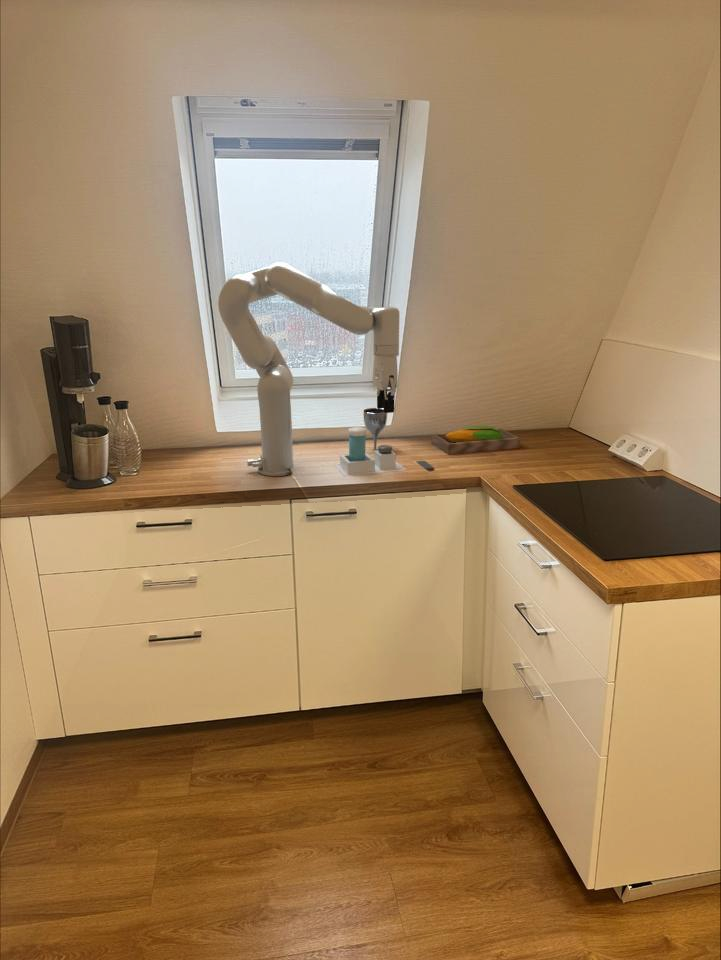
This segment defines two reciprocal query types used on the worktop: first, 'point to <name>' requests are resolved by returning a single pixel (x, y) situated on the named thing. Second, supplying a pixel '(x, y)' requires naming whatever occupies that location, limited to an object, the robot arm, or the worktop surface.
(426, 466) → the mat
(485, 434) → the corn
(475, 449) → the brown rectangular tray
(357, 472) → the housing
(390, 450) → the plunger
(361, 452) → the cylinder
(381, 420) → the wine glass
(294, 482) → the worktop surface
